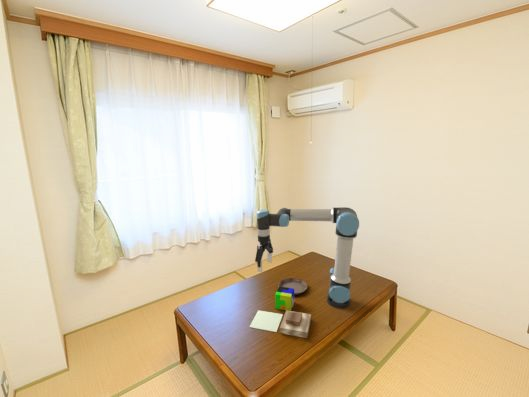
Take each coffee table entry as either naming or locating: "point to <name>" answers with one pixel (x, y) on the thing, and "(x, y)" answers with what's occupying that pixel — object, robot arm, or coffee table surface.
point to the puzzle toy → (284, 298)
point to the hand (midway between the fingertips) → (265, 266)
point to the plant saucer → (294, 285)
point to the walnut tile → (294, 318)
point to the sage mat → (266, 321)
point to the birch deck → (296, 330)
